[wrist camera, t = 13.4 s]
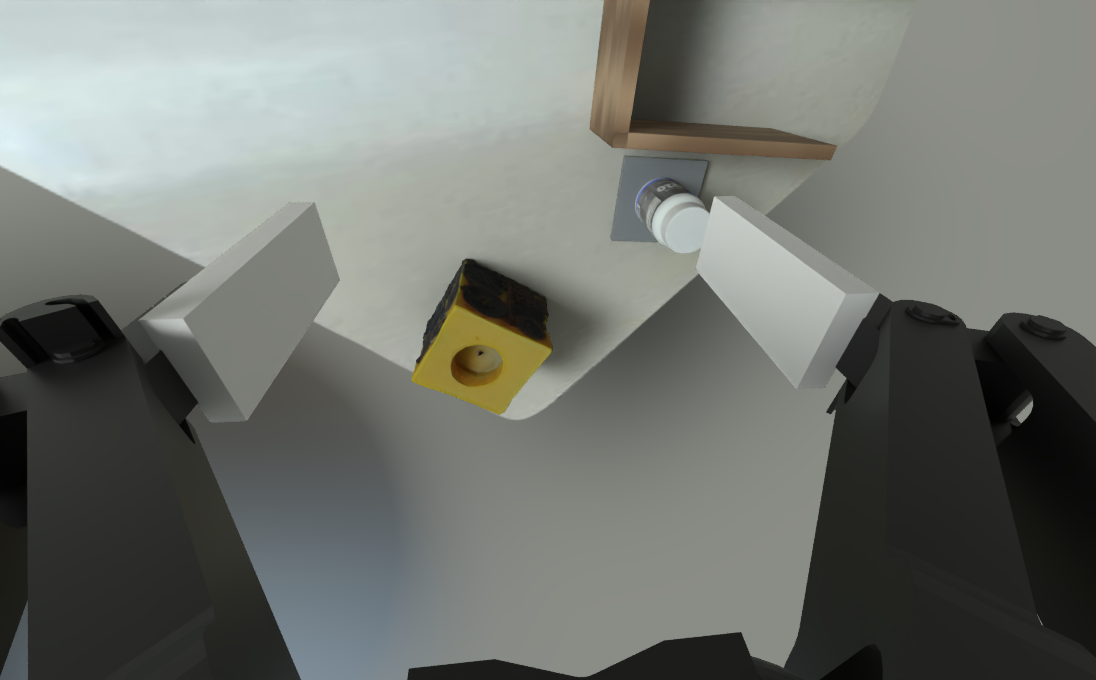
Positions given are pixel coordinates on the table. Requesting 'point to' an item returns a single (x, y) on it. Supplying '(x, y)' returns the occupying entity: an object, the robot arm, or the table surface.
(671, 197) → the pill bottle
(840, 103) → the table surface
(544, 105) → the table surface
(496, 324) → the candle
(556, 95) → the table surface
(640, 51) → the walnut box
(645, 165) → the slate coaster
